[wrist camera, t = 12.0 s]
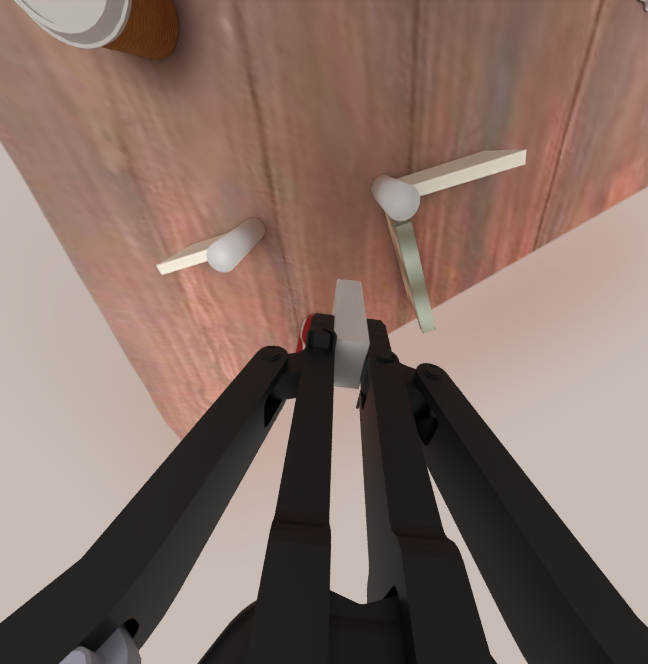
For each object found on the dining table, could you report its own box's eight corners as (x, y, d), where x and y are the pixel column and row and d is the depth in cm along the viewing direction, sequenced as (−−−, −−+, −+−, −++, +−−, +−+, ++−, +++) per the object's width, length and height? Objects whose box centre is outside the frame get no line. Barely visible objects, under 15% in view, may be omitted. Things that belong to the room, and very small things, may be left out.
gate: (383, 211, 36) (395, 227, 28) (395, 206, 36) (411, 221, 28) (406, 300, 43) (422, 333, 35) (417, 296, 42) (435, 329, 34)
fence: (483, 142, 32) (556, 135, 21) (482, 170, 34) (551, 177, 23) (187, 238, 40) (129, 270, 29) (197, 258, 42) (147, 295, 31)
